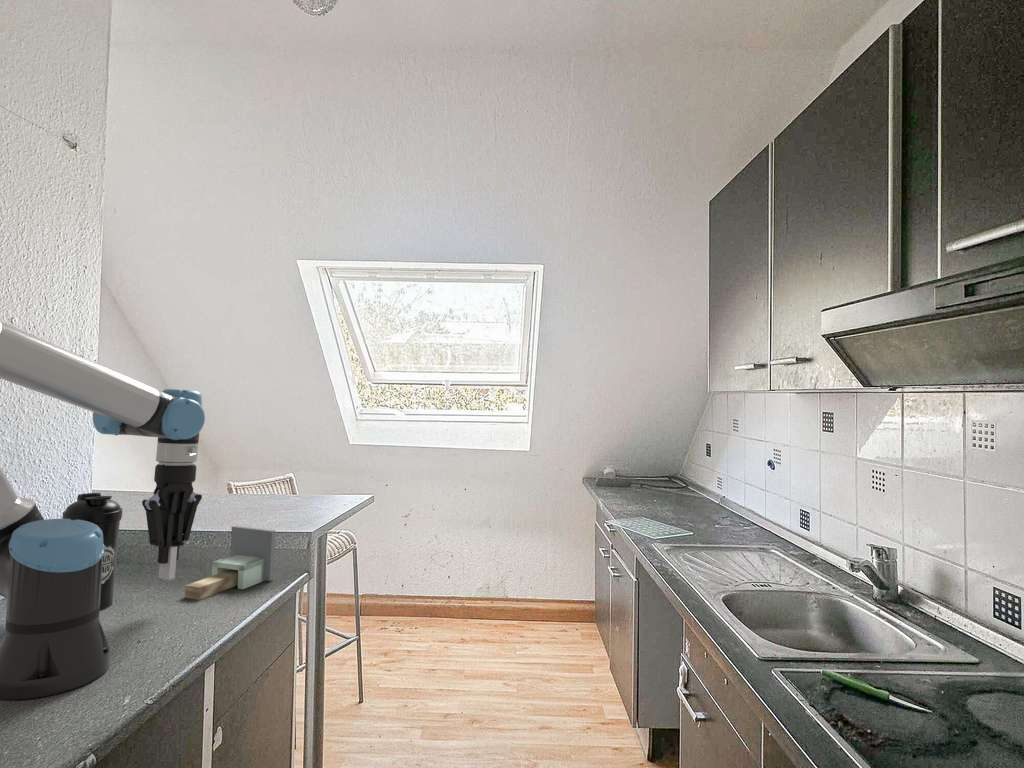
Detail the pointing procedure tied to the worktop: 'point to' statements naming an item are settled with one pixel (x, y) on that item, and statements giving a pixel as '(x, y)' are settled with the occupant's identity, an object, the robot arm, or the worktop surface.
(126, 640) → the worktop surface
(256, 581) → the end cap
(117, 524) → the water bottle
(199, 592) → the slat
